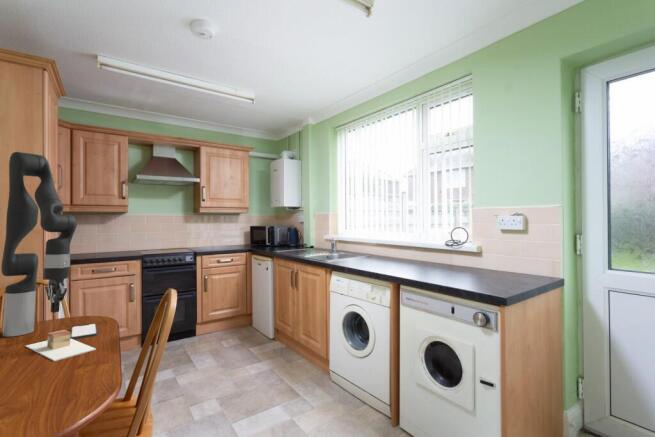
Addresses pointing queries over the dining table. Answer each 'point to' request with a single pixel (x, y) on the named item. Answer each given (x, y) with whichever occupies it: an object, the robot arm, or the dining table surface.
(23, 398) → the dining table surface
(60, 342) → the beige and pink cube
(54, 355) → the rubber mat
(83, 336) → the phone case
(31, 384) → the dining table surface
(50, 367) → the dining table surface
